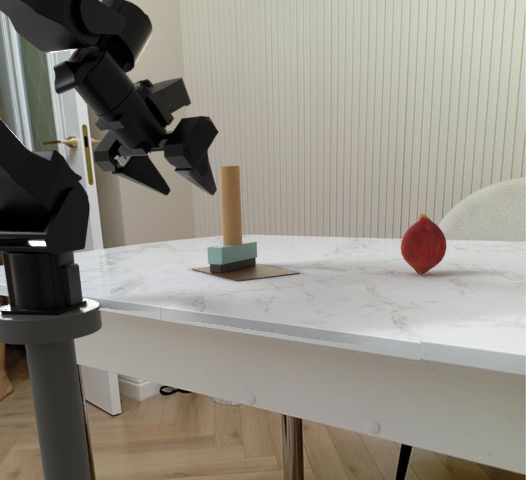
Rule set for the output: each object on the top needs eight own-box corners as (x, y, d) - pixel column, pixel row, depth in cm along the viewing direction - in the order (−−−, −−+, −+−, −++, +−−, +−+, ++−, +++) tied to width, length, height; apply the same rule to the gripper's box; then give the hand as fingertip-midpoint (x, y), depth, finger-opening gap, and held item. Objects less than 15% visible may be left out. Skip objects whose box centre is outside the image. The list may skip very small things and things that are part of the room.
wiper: (223, 273, 84) (218, 165, 80) (207, 272, 85) (202, 166, 81) (258, 265, 91) (255, 166, 87) (243, 264, 92) (239, 166, 88)
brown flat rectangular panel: (299, 273, 83) (299, 272, 83) (237, 281, 78) (237, 280, 78) (248, 263, 94) (248, 262, 94) (191, 269, 89) (191, 268, 89)
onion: (450, 272, 80) (454, 212, 78) (436, 279, 75) (439, 214, 73) (409, 270, 83) (411, 211, 81) (392, 275, 78) (395, 214, 76)
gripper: (202, 37, 65) (269, 145, 76) (103, 62, 77) (174, 152, 88) (151, 109, 62) (229, 211, 73) (56, 123, 74) (136, 209, 85)
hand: (190, 192), depth 80 cm, fingers open, 9 cm apart
